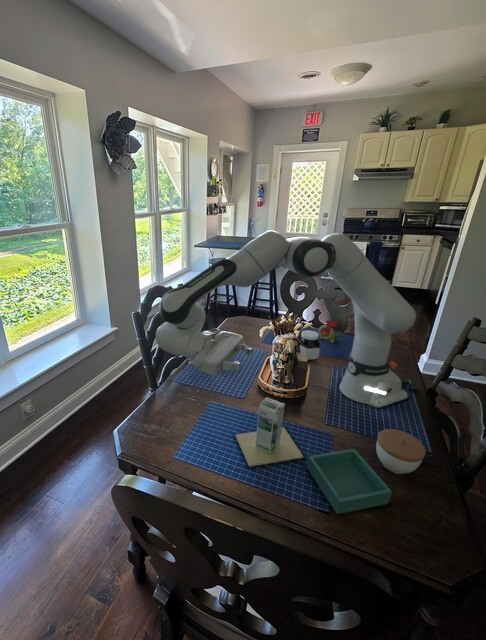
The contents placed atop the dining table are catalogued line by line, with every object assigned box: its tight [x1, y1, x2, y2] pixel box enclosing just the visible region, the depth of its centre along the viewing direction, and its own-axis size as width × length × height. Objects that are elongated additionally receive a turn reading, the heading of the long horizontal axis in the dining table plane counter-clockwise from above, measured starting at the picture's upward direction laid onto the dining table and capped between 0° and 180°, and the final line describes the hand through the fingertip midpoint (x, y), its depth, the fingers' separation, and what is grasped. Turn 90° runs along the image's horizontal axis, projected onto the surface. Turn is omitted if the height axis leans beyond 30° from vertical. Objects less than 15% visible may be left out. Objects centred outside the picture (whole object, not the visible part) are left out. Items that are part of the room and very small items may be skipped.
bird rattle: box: [318, 319, 340, 344], centre depth 154 cm, size 6×11×9 cm
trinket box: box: [375, 428, 427, 475], centre depth 86 cm, size 11×11×9 cm
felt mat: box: [235, 426, 304, 468], centre depth 94 cm, size 16×12×1 cm
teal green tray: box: [306, 448, 393, 515], centre depth 81 cm, size 14×14×4 cm
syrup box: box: [255, 397, 286, 455], centre depth 91 cm, size 6×6×14 cm
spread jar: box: [300, 329, 321, 362], centre depth 139 cm, size 12×11×12 cm
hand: (246, 359), depth 90 cm, fingers open, 8 cm apart
